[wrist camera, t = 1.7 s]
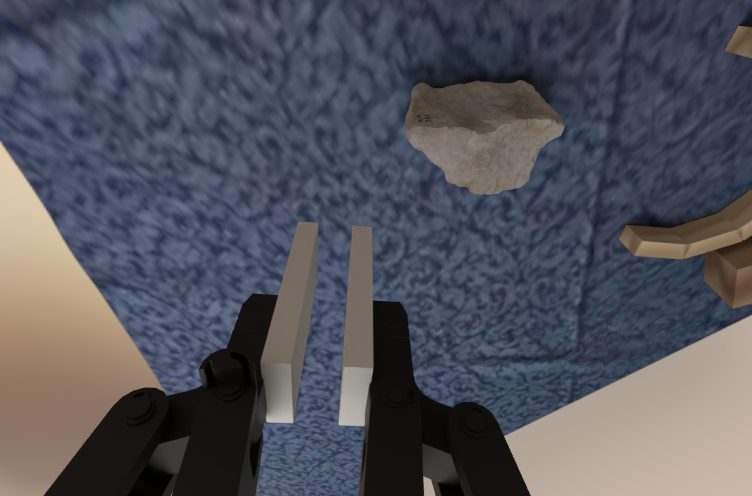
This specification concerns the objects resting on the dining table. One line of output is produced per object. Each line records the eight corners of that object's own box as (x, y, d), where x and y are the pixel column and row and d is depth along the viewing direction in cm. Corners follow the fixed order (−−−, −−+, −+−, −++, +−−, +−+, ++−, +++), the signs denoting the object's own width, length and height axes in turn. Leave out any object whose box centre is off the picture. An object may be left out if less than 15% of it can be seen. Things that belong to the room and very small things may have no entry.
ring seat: (738, 25, 26) (769, 31, 24) (886, 43, 27) (928, 50, 25) (618, 238, 36) (633, 255, 34) (729, 247, 37) (750, 264, 35)
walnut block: (704, 242, 37) (737, 269, 33) (767, 222, 35) (807, 249, 32) (702, 279, 39) (732, 308, 36) (760, 262, 38) (796, 291, 35)
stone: (508, 186, 33) (530, 224, 28) (390, 164, 32) (392, 200, 27) (552, 84, 28) (587, 111, 23) (416, 55, 27) (423, 76, 22)
